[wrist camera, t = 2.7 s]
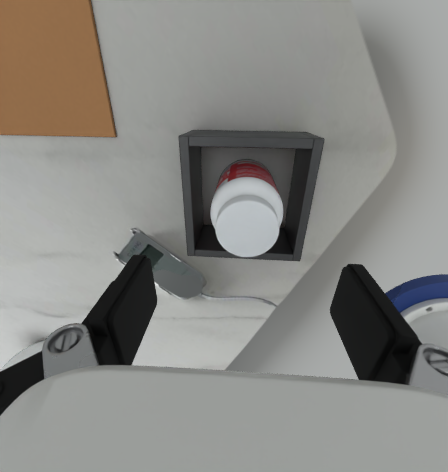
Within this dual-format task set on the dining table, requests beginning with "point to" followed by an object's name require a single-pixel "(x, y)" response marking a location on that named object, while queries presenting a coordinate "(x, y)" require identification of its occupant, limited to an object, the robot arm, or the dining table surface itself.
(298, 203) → the bin
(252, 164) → the pill bottle
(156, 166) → the dining table surface
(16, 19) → the cork mat
